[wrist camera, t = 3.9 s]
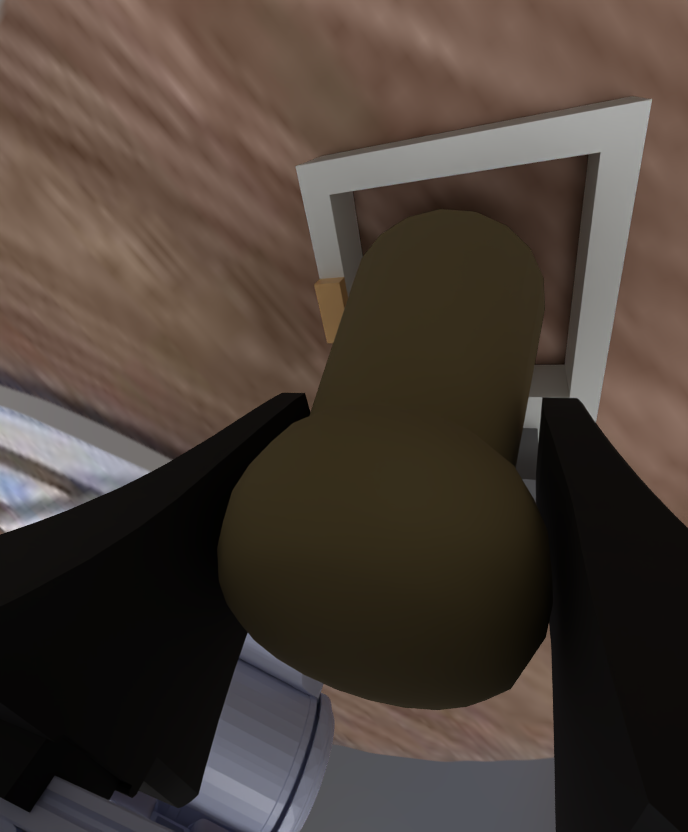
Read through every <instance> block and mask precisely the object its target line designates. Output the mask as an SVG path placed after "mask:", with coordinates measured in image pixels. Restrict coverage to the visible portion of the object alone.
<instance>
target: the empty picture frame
mask: <svg viewBox="0 0 688 832" xmlns="http://www.w3.org/2000/svg"><path fill="white" fill-rule="evenodd" d="M651 102H652V99H647V98H641V97H635V96H631V97H626V98H620V99H615V100H610V101H605V102H600V103H594V104H589V105H584V106H579V107H574V108H568V109H563V110H558V111H553V112H548V113H542V114H537V115H532V116H527V117H522V118H517V119H511V120H506V121H501V122H496V123H491V124H485V125H480V126H475V127H470V128H465V129H459V130H454V131H449V132H444V133H439V134H433V135H428V136H423V137H418V138H413V139H407V140H402V141H397V142H392V143H387V144H382V145H376V146H371V147H366V148H361V149H356V150H350V151H345V152H340V153H335V154H330V155H324V156H320V157H318V158H315V159H313V160H310V161H308V162H305V163H303V164H300V165H297V166H296V171H297V175H298V180H299V185H300V189H301V194H302V199H303V203H304V208H305V213H306V217H307V222H308V227H309V231H310V236H311V241H312V245H313V250H314V255H315V259H316V264H317V269H318V273H319V278H320V279H319V280H318V281H317V282H316V283H315V284H314V286H315V291H316V295H317V300H318V304H319V309H320V313H321V318H322V322H323V327H324V331H325V336H326V340H327V343H333V342H334V339H335V336H336V333H337V330H338V327H339V324H340V321H341V318H342V315H343V312H344V309H345V306H346V303H347V299H348V296H349V293H350V290H351V287H352V284H353V281H354V279H355V276H356V273H357V270H358V267H359V265H360V262H361V259H362V257H363V255H362V248H361V242H360V235H359V229H358V223H357V216H356V210H355V203H354V197H353V191H357V190H363V189H369V188H376V187H382V186H388V185H395V184H401V183H407V182H414V181H420V180H427V179H433V178H439V177H446V176H452V175H458V174H465V173H471V172H477V171H484V170H490V169H496V168H503V167H509V166H516V165H522V164H528V163H535V162H541V161H547V160H554V159H560V158H566V157H573V156H579V155H586V154H589V155H588V163H587V172H586V181H585V190H584V198H583V207H582V216H581V225H580V234H579V242H578V251H577V260H576V269H575V277H574V286H573V295H572V304H571V313H570V321H569V330H568V339H567V348H566V357H565V365H534V371H533V376H532V382H531V387H530V393H529V398H528V404H527V409H526V415H525V420H524V426H523V431H522V436H521V442H520V447H519V453H518V458H517V464H516V470H517V472H518V473H519V475H520V477H521V478H522V480H523V482H524V483H525V485H526V487H527V488H528V490H529V492H530V493H531V495H532V497H533V498H534V500H535V502H536V465H537V453H538V441H539V430H540V418H541V406H542V397H550V398H578V399H579V400H580V401H581V402H582V403H583V405H584V406H585V408H586V409H587V411H588V412H589V414H590V415H591V417H592V418H593V420H594V421H595V422H596V419H597V413H598V407H599V401H600V396H601V390H602V384H603V378H604V373H605V367H606V361H607V355H608V350H609V344H610V338H611V332H612V327H613V321H614V315H615V309H616V304H617V298H618V292H619V286H620V281H621V275H622V269H623V263H624V258H625V252H626V246H627V240H628V235H629V229H630V223H631V217H632V212H633V206H634V200H635V194H636V189H637V183H638V177H639V171H640V166H641V160H642V154H643V148H644V143H645V137H646V131H647V125H648V120H649V114H650V108H651Z"/></svg>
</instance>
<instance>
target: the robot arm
mask: <svg viewBox="0 0 688 832" xmlns="http://www.w3.org/2000/svg"><path fill="white" fill-rule="evenodd" d="M309 416H310V410H309V406H308V402H307V399H306V395H305V393H281V394H279V395H277V396H275V397H274V398H272V399H270V400H268V401H267V402H265V403H263V404H262V405H260V406H259V407H257V408H255V409H254V410H252V411H251V412H249V413H248V414H246V415H245V416H243V417H241V418H240V419H238V420H237V421H235V422H234V423H232V424H231V425H229V426H228V427H226V428H224V429H223V430H221V431H220V432H218V433H217V434H215V435H214V436H212V437H210V438H209V439H207V440H206V441H204V442H202V443H201V444H199V445H197V446H196V447H194V448H192V449H191V450H189V451H187V452H186V453H184V454H182V455H181V456H179V457H177V458H176V459H174V460H172V461H170V462H169V463H167V464H165V465H163V466H161V467H160V468H158V469H156V470H154V471H152V472H150V473H148V474H146V475H144V476H142V477H140V478H138V479H136V480H134V481H132V482H130V483H128V484H126V485H124V486H122V487H120V488H118V489H116V490H114V491H111V492H109V493H107V494H104V495H102V496H100V497H98V498H95V499H93V500H91V501H88V502H86V503H84V504H81V505H79V506H77V507H74V508H72V509H70V510H67V511H65V512H62V513H60V514H57V515H54V516H52V517H49V518H46V519H44V520H41V521H38V522H36V523H33V524H30V525H27V526H24V527H21V528H18V529H16V530H13V531H10V532H7V533H4V534H1V535H0V832H300V830H301V828H302V826H303V825H304V823H305V821H306V819H307V817H308V815H309V813H310V810H311V808H312V806H313V804H314V801H315V799H316V796H317V794H318V791H319V788H320V786H321V783H322V780H323V777H324V773H325V770H326V767H327V763H328V759H329V756H330V751H331V747H332V742H333V736H334V715H333V712H332V707H331V701H330V699H329V697H328V696H327V695H325V694H322V693H321V690H322V687H323V683H321V682H319V681H317V680H314V679H312V678H310V677H308V676H305V675H304V674H302V673H300V672H298V671H297V670H295V669H293V668H292V667H290V666H288V665H287V664H285V663H283V662H282V661H280V660H278V659H277V658H275V657H274V656H273V655H272V654H270V653H269V652H268V651H267V650H265V649H264V648H263V647H262V646H261V645H259V644H258V643H257V642H256V641H254V640H253V638H252V637H251V636H250V635H249V633H248V632H247V631H246V630H245V629H244V627H243V626H242V625H241V624H240V622H239V621H238V620H237V618H236V617H235V615H234V614H233V612H232V611H231V609H230V608H229V607H228V605H227V604H226V601H225V598H224V595H223V592H222V589H221V586H220V583H219V577H218V557H217V546H218V542H219V537H220V533H221V528H222V523H223V520H224V517H225V513H226V510H227V506H228V503H229V500H230V496H231V493H232V490H233V489H234V487H235V486H236V484H237V483H238V481H239V480H240V478H241V477H242V475H243V473H244V472H245V470H246V469H247V467H248V466H249V464H250V463H251V462H252V461H253V460H254V459H255V458H256V457H257V456H258V455H259V454H260V453H261V452H262V451H263V450H264V449H265V448H266V447H267V446H268V445H269V444H270V443H271V442H272V441H273V440H274V439H275V438H276V437H277V436H279V435H280V434H281V433H282V432H283V431H284V430H286V429H287V428H288V427H289V426H290V425H291V424H293V423H294V422H296V421H299V420H301V419H304V418H306V417H309ZM536 505H537V507H538V509H539V512H540V514H541V516H542V519H543V521H544V524H545V526H546V528H547V531H548V539H549V549H550V559H551V570H552V587H553V605H552V610H551V615H550V619H549V625H550V637H551V650H552V683H553V720H554V760H555V813H556V832H688V528H687V527H686V526H685V525H684V524H683V523H682V522H681V521H680V520H679V519H678V518H677V517H676V516H675V515H674V514H673V513H672V512H671V511H670V510H669V509H668V508H667V507H666V506H665V505H664V504H663V503H662V501H661V500H660V499H659V498H658V497H657V496H656V495H655V494H654V493H653V492H652V491H651V490H650V489H649V488H648V487H647V485H646V484H645V483H644V482H643V481H642V480H641V479H640V478H639V477H638V475H637V474H636V473H635V472H634V471H633V469H632V468H631V467H630V466H629V465H628V463H627V462H626V461H625V460H624V459H623V458H622V456H621V455H620V454H619V453H618V452H617V450H616V449H615V448H614V447H613V445H612V444H611V443H610V441H609V440H608V439H607V437H606V436H605V435H604V433H603V432H602V431H601V429H600V428H599V427H598V425H597V424H596V422H595V421H594V420H593V418H592V417H591V415H590V414H589V412H588V411H587V409H586V408H585V406H584V405H583V403H582V402H581V401H580V400H579V399H578V398H550V397H542V406H541V418H540V430H539V441H538V453H537V465H536Z"/></svg>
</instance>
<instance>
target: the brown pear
mask: <svg viewBox="0 0 688 832" xmlns="http://www.w3.org/2000/svg"><path fill="white" fill-rule="evenodd" d="M544 310H545V300H544V279H543V276H542V274H541V271H540V269H539V267H538V265H537V262H536V260H535V258H534V256H533V254H532V251H531V249H530V248H529V247H528V246H527V245H526V244H525V243H524V242H523V241H522V240H521V239H520V238H519V237H518V236H517V235H516V234H515V233H514V232H513V231H512V230H511V229H510V228H509V227H508V226H506V225H504V224H502V223H499V222H497V221H495V220H493V219H490V218H488V217H486V216H484V215H481V214H479V213H477V212H472V211H460V210H447V209H438V210H434V211H431V212H427V213H423V214H419V215H415V216H411V217H407V218H406V219H404V220H403V221H401V222H400V223H398V224H396V225H395V226H393V227H392V228H390V229H389V230H387V231H386V232H384V233H382V234H381V235H380V236H379V237H378V239H377V240H376V241H375V242H374V244H373V245H372V246H371V247H370V249H369V250H368V251H367V252H366V254H365V255H364V256H363V257H362V259H361V262H360V265H359V267H358V270H357V273H356V276H355V279H354V281H353V284H352V287H351V290H350V293H349V296H348V299H347V303H346V306H345V309H344V312H343V315H342V318H341V321H340V324H339V327H338V330H337V333H336V336H335V339H334V342H333V345H332V348H331V352H330V355H329V358H328V361H327V364H326V367H325V370H324V373H323V376H322V379H321V382H320V385H319V388H318V391H317V394H316V398H315V401H314V404H313V407H312V410H311V413H310V416H309V417H306V418H304V419H301V420H299V421H296V422H294V423H293V424H291V425H290V426H289V427H288V428H287V429H286V430H284V431H283V432H282V433H281V434H280V435H279V436H277V437H276V438H275V439H274V440H273V441H272V442H271V443H270V444H269V445H268V446H267V447H266V448H265V449H264V450H263V451H262V452H261V453H260V454H259V455H258V456H257V457H256V458H255V459H254V460H253V461H252V462H251V463H250V464H249V466H248V467H247V469H246V470H245V472H244V473H243V475H242V477H241V478H240V480H239V481H238V483H237V484H236V486H235V487H234V489H233V490H232V493H231V496H230V500H229V503H228V506H227V510H226V513H225V517H224V520H223V523H222V528H221V533H220V537H219V542H218V546H217V557H218V577H219V583H220V586H221V589H222V592H223V595H224V598H225V601H226V604H227V605H228V607H229V608H230V609H231V611H232V612H233V614H234V615H235V617H236V618H237V620H238V621H239V622H240V624H241V625H242V626H243V627H244V629H245V630H246V631H247V632H248V633H249V635H250V636H251V637H252V638H253V640H254V641H256V642H257V643H258V644H259V645H261V646H262V647H263V648H264V649H265V650H267V651H268V652H269V653H270V654H272V655H273V656H274V657H275V658H277V659H278V660H280V661H282V662H283V663H285V664H287V665H288V666H290V667H292V668H293V669H295V670H297V671H298V672H300V673H302V674H304V675H305V676H308V677H310V678H312V679H314V680H317V681H319V682H321V683H323V684H325V685H328V686H330V687H332V688H334V689H337V690H340V691H343V692H346V693H349V694H352V695H355V696H358V697H361V698H364V699H367V700H370V701H375V702H380V703H385V704H390V705H395V706H399V707H404V708H417V709H431V710H442V709H451V708H460V707H467V706H470V705H473V704H476V703H479V702H482V701H485V700H487V699H489V698H491V697H494V696H496V695H498V694H500V693H503V692H505V691H507V690H509V689H511V688H512V686H513V685H514V683H515V682H516V680H517V679H518V678H519V676H520V675H521V673H522V672H523V670H524V669H525V667H526V666H527V664H528V663H529V661H530V660H531V658H532V657H533V655H534V654H535V653H536V651H537V650H538V648H539V647H540V645H541V644H542V642H543V641H544V639H545V638H546V633H547V629H548V624H549V619H550V615H551V610H552V605H553V587H552V570H551V559H550V549H549V539H548V531H547V528H546V526H545V524H544V521H543V519H542V516H541V514H540V512H539V509H538V507H537V505H536V502H535V500H534V498H533V497H532V495H531V493H530V492H529V490H528V488H527V487H526V485H525V483H524V482H523V480H522V478H521V477H520V475H519V473H518V472H517V470H516V464H517V458H518V453H519V447H520V442H521V436H522V431H523V426H524V420H525V415H526V409H527V404H528V398H529V393H530V387H531V382H532V376H533V371H534V365H535V360H536V354H537V349H538V343H539V338H540V332H541V327H542V321H543V316H544Z"/></svg>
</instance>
